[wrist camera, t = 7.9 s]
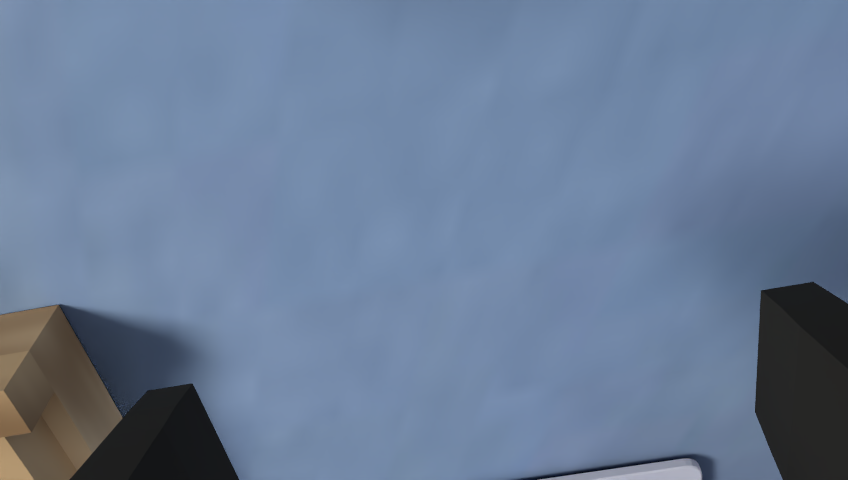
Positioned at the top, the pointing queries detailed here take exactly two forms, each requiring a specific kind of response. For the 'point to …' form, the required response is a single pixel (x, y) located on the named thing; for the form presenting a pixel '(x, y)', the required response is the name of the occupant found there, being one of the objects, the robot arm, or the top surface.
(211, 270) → the top surface
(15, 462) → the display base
